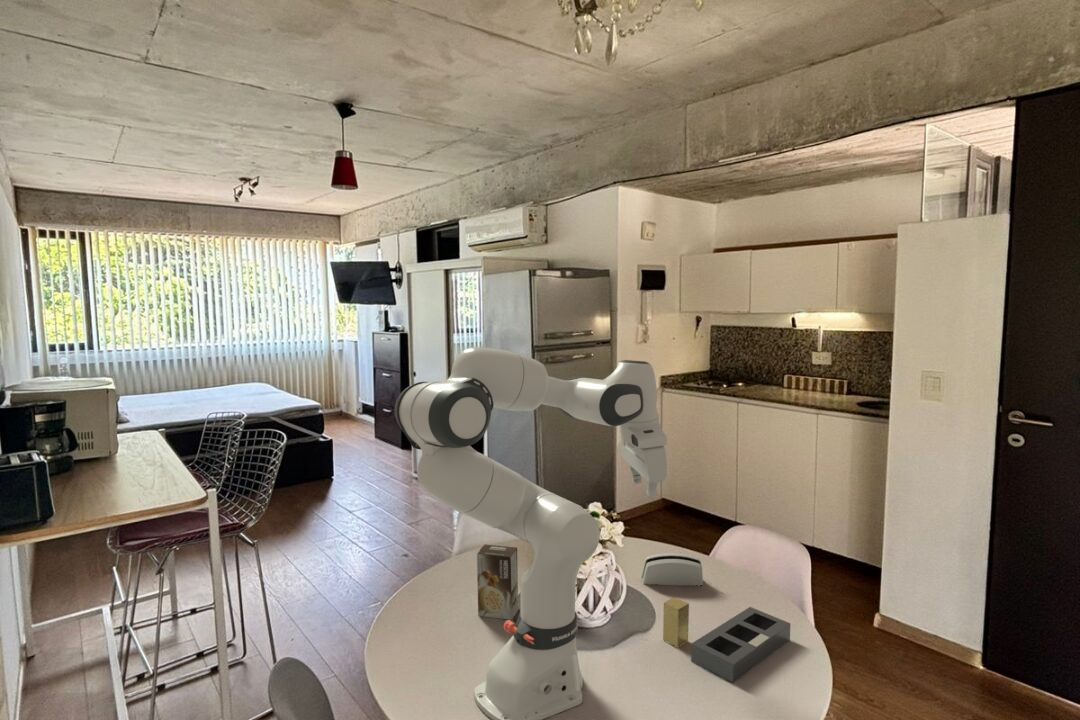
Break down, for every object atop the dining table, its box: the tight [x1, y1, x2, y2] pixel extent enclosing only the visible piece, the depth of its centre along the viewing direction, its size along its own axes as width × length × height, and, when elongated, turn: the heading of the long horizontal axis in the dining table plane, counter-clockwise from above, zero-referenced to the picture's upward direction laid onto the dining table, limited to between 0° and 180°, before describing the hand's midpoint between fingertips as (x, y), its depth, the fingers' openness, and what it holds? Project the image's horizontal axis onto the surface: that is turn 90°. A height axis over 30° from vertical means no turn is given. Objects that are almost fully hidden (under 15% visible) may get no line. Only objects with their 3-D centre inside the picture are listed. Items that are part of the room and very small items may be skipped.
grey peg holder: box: [690, 606, 791, 684], centre depth 130 cm, size 24×10×4 cm, turn 131°
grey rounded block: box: [641, 552, 704, 587], centre depth 163 cm, size 17×5×10 cm, turn 86°
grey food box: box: [476, 544, 519, 621], centre depth 147 cm, size 9×6×16 cm
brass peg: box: [662, 597, 690, 648], centre depth 134 cm, size 4×4×9 cm
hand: (644, 489), depth 134 cm, fingers open, 8 cm apart
